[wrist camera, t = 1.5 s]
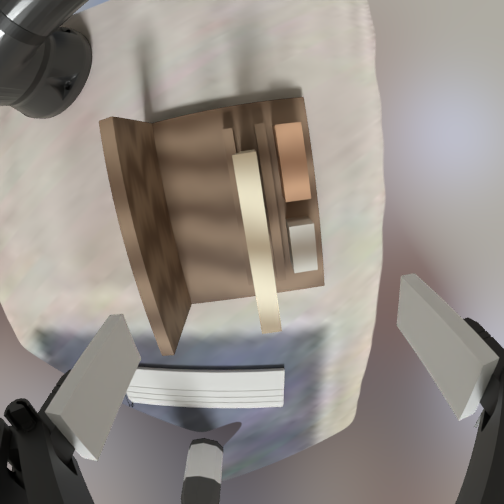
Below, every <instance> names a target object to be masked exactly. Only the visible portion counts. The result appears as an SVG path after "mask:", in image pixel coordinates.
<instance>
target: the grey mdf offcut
mask: <svg viewBox="0 0 504 504" xmlns="http://www.w3.org/2000/svg"><path fill="white" fill-rule="evenodd" d="M285 220H286V228H287V236H288V244H289V252H290V261H291V264H292V267H293V270H294V273H299V272H306V271H312V270H318V265H317V252H316V241H315V230H314V223H313V222H312V220H311V219H310V218H309V217H308V216H303V217H295V218H288V219H285Z"/></svg>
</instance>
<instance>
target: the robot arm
mask: <svg viewBox="0 0 504 504" xmlns="http://www.w3.org/2000/svg"><path fill="white" fill-rule="evenodd" d="M87 1H88V0H0V106H4V105H5V106H11V107H13V108H14V109H16V110H18V111H20V112H21V113H22V114H24V115H25V116H27V117H30V118H39V119H46V118H51V117H54V116H56V115H58V114H60V113H61V112H63V111H64V110H65V109H67V108H68V107H69V106H70V105H71V104H72V103H73V102H74V100H75V99H76V98H77V97H78V95H79V94H80V92H81V90H82V89H83V87H84V85H85V83H86V80H87V78H88V75H89V72H90V67H91V59H92V54H91V48H90V45H89V42H88V40H87V39H86V38H85V37H84V36H83V35H82V34H81V33H79V32H77V31H75V30H73V29H71V28H66V27H60V26H61V25H62V24H63V23H64V22H65V21H66V20H67V19H68V18H69V17H70V16H71V15H72V14H73V13H75V12H76V11H77V10H78V9H79V8H80V7H81V6H82V5H84V4H85V3H86V2H87ZM397 326H398V328H399V329H400V331H401V332H402V334H403V335H404V336H405V338H406V339H407V341H408V342H409V344H410V345H411V347H412V348H413V350H414V351H415V352H416V354H417V355H418V357H419V358H420V360H421V361H422V363H423V364H424V366H425V367H426V369H427V371H428V372H429V374H430V375H431V377H432V378H433V380H434V381H435V383H436V385H437V386H438V388H439V389H440V391H441V392H442V394H443V396H444V397H445V399H446V401H447V402H448V404H449V405H450V407H451V409H452V410H453V412H454V414H455V415H456V417H457V419H458V420H461V419H464V418H466V417H468V416H470V415H472V414H474V413H475V411H476V409H477V407H478V405H479V403H481V405H482V406H483V408H484V410H483V412H482V413H481V415H480V417H479V419H478V420H477V422H476V424H475V427H477V426H478V424H479V427H478V432H477V436H476V440H475V444H474V448H473V452H472V456H471V459H470V463H469V466H468V469H467V473H466V476H465V479H464V482H463V485H462V487H461V490H460V493H459V496H458V498H457V501H456V504H504V349H503V348H502V347H501V346H500V344H499V343H498V342H497V341H496V340H495V339H494V338H493V337H491V335H490V334H489V333H488V332H487V331H485V329H484V328H483V327H482V326H480V324H479V323H477V322H475V321H474V320H472V319H470V318H465V319H462V318H461V317H460V316H459V315H458V314H457V313H456V312H455V311H454V310H453V309H452V308H451V307H450V306H449V305H448V304H447V303H446V302H445V301H444V300H443V299H442V298H441V297H440V296H439V295H438V294H437V293H435V292H434V291H433V290H432V289H431V288H430V287H429V286H428V285H427V284H426V283H425V282H424V281H423V280H421V279H420V278H419V277H418V276H417V275H416V274H409V275H404V276H401V282H400V296H399V308H398V317H397ZM140 360H141V357H140V355H139V353H138V350H137V348H136V345H135V343H134V341H133V338H132V336H131V333H130V331H129V328H128V326H127V323H126V321H125V318H124V315H123V314H118V315H110V316H109V317H108V318H107V320H106V321H105V323H104V324H103V325H102V327H101V328H100V329H99V331H98V332H97V334H96V335H95V336H94V338H93V339H92V341H91V342H90V344H89V345H88V346H87V348H86V349H85V351H84V352H83V354H82V355H81V357H80V358H79V360H78V361H77V362H76V364H75V365H74V367H73V368H72V370H69V371H68V372H66V373H65V374H64V375H63V376H62V377H61V378H60V380H59V381H58V383H57V384H56V386H55V387H54V389H53V390H52V393H50V395H49V396H48V398H47V400H46V401H45V403H44V404H43V406H42V407H41V409H40V411H39V412H38V413H37V412H36V411H35V409H34V408H33V406H32V405H31V404H30V402H29V401H28V400H26V399H22V398H21V399H17V400H15V401H13V402H11V403H10V404H9V405H8V406H7V408H6V410H5V412H4V416H5V417H6V418H7V420H8V421H9V422H10V423H11V425H12V426H8V425H7V424H6V423H5V422H4V420H3V419H2V418H0V504H94V502H93V500H92V497H91V495H90V493H89V491H88V489H87V486H86V483H85V481H84V478H83V476H82V473H81V471H80V468H79V466H78V463H77V461H76V459H75V458H74V456H73V452H74V450H76V451H77V452H78V453H79V454H80V455H81V456H82V457H83V458H86V459H91V460H95V461H98V460H99V457H100V455H101V452H102V450H103V447H104V445H105V442H106V439H107V437H108V435H109V432H110V430H111V427H112V425H113V422H114V420H115V417H116V415H117V413H118V410H119V407H120V405H121V403H122V401H123V399H124V396H125V394H126V392H127V389H128V387H129V385H130V382H131V380H132V378H133V376H134V373H135V371H136V369H137V367H138V365H139V362H140ZM7 462H9V463H10V464H11V465H12V471H10V470H9V469H8V468H7Z"/></svg>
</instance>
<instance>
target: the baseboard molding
mask: <svg viewBox="0 0 504 504" xmlns="http://www.w3.org/2000/svg"><path fill="white" fill-rule="evenodd" d="M284 372H285V370H284V368H272V369H245V370H195V369H167V368H150V367H137V369H136V371H135V373H134V376H133V378H132V380H131V382H130V385H129V387H128V389H127V392H126V393H127V395H128V398H129V399H131V401H132V405H134V404H133V402H135V403H144V404H154V405H165V406H179V407H199V408H262V407H282V406H283V397H284ZM125 396H126V395H125ZM127 401H128V400H127ZM128 403H129V402H128ZM132 405H131V406H132ZM129 407H130V406H129ZM132 407H133V406H132Z"/></svg>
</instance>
